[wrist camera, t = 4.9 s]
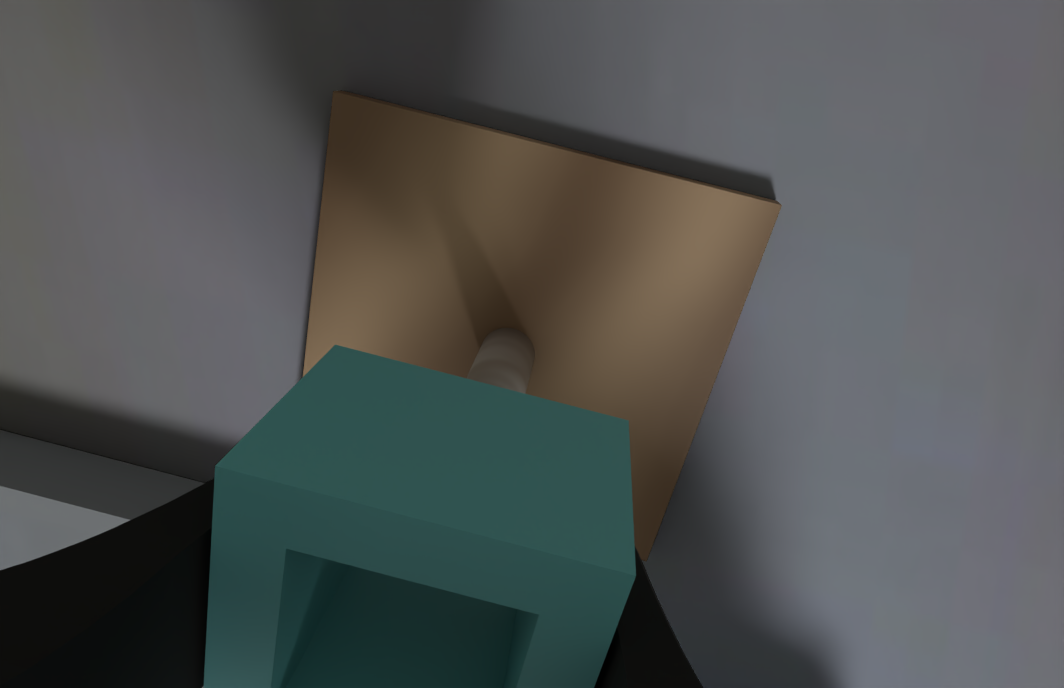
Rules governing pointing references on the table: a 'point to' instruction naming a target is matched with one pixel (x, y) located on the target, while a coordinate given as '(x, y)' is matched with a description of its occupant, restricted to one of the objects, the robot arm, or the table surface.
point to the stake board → (534, 273)
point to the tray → (70, 496)
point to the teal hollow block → (418, 536)
